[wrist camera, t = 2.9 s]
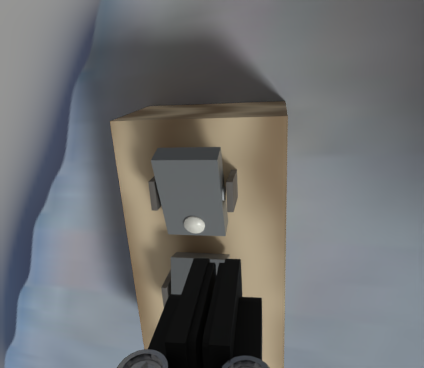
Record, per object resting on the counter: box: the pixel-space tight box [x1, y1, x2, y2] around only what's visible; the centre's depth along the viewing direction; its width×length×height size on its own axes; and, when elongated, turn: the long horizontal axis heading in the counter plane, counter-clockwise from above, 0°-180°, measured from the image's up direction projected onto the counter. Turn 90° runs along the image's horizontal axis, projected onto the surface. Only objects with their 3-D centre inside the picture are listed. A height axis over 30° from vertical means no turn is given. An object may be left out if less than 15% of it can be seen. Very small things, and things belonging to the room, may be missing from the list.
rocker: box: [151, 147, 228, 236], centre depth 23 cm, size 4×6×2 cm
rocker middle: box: [171, 252, 230, 294], centre depth 25 cm, size 4×6×2 cm
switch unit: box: [110, 101, 288, 368], centre depth 30 cm, size 12×25×11 cm, turn 3°
